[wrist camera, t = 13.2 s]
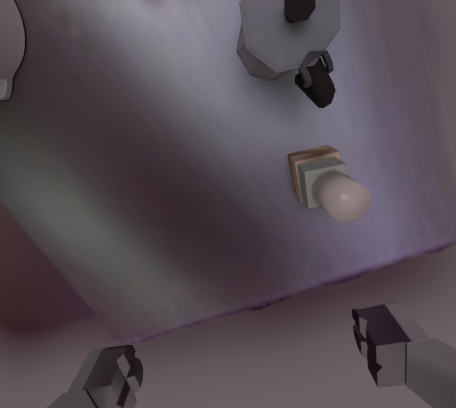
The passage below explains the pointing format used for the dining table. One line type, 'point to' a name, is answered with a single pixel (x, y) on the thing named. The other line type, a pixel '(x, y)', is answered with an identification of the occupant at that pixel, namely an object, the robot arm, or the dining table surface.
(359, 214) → the grey rounded cylinder
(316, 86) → the coffee maker
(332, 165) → the tower top
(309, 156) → the tower base
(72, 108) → the dining table surface
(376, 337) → the robot arm
